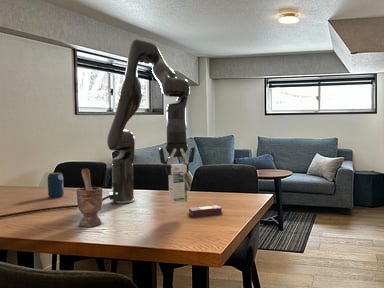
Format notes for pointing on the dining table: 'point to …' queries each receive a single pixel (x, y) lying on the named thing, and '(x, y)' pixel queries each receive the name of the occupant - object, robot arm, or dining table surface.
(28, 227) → the dining table surface
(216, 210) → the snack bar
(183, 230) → the dining table surface
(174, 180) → the syrup box
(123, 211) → the dining table surface
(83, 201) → the mortar and pestle
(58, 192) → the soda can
